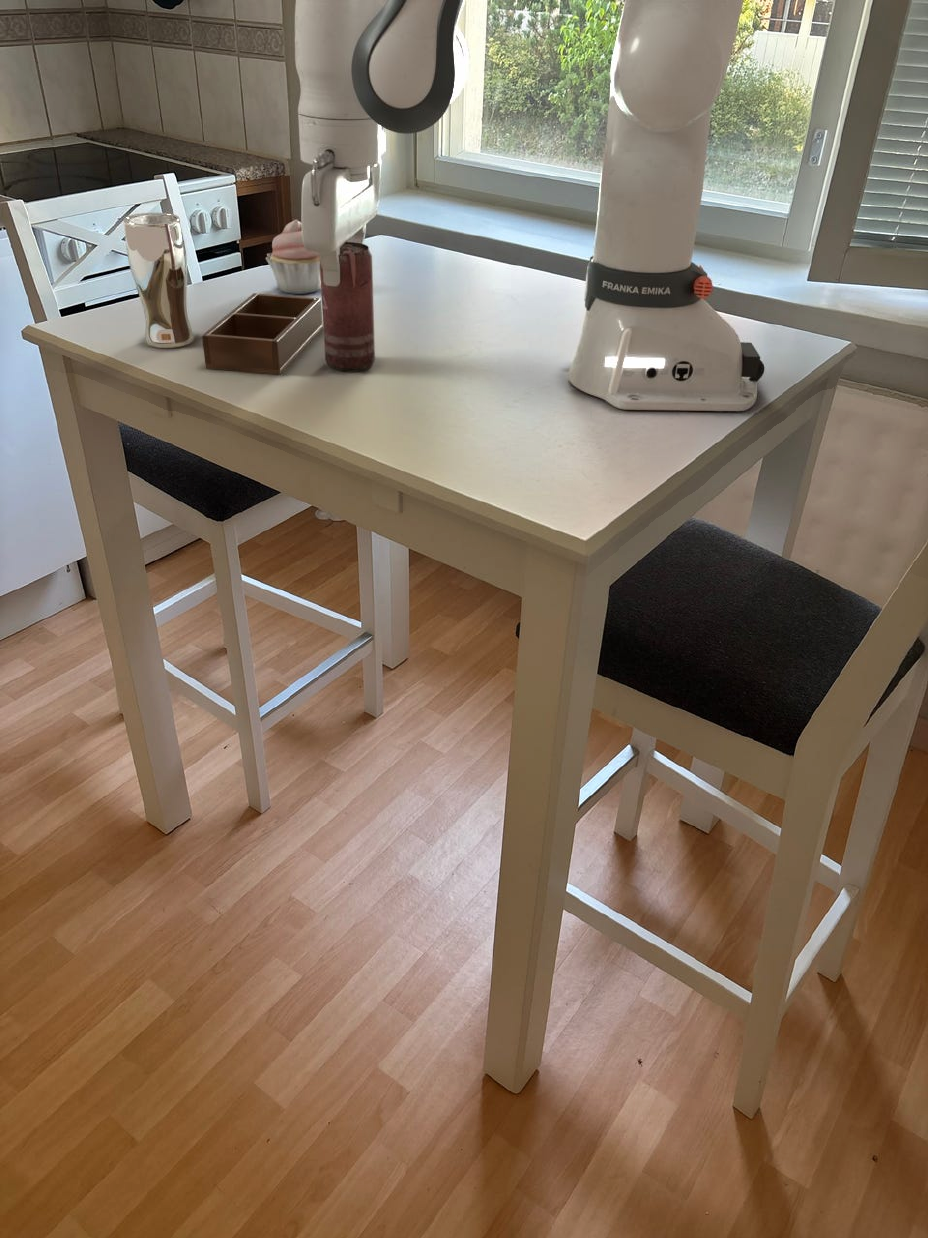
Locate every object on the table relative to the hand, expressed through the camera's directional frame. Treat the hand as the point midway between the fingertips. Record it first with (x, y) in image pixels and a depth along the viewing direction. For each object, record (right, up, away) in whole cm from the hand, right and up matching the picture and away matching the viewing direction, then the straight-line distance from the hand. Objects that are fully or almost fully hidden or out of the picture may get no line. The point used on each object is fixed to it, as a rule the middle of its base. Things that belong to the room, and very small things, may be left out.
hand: (344, 273), depth 112 cm
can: (0, -9, +6) cm, 11 cm away
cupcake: (-11, +9, +33) cm, 36 cm away
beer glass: (-24, -5, +12) cm, 27 cm away
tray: (-11, -6, +10) cm, 16 cm away
